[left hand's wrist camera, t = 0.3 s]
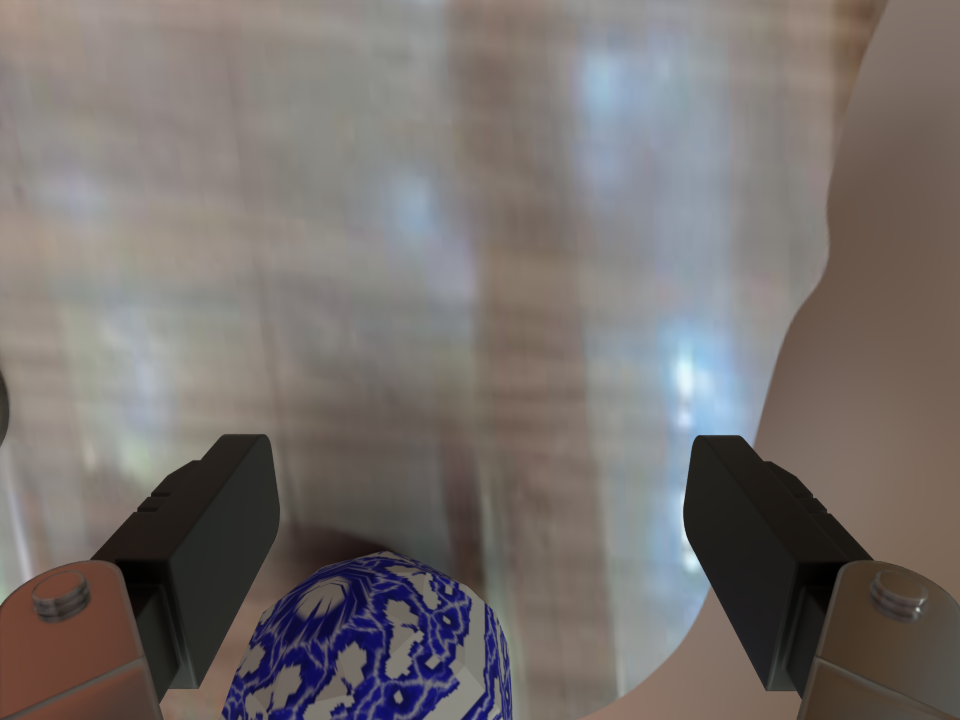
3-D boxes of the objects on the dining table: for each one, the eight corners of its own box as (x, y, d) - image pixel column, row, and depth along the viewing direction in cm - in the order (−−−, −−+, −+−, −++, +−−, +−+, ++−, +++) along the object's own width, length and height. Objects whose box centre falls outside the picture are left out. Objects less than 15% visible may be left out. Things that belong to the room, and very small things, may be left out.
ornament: (239, 916, 40) (85, 715, 33) (383, 666, 56) (299, 496, 50) (498, 1031, 31) (360, 790, 24) (581, 695, 47) (512, 493, 41)
